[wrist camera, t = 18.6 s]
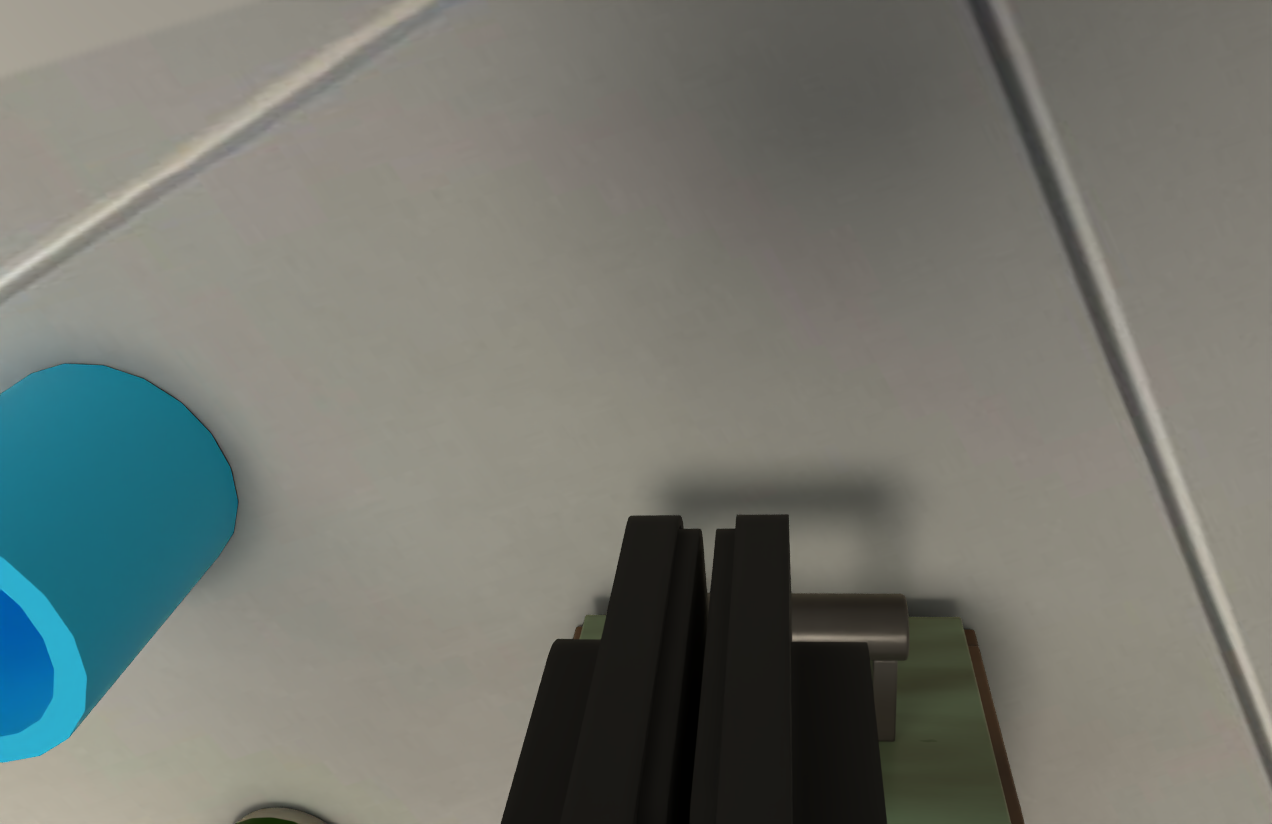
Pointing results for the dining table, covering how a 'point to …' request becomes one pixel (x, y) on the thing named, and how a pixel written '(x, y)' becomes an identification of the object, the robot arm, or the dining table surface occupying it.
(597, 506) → the dining table surface
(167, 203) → the dining table surface
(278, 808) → the green soda can
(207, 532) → the mug
